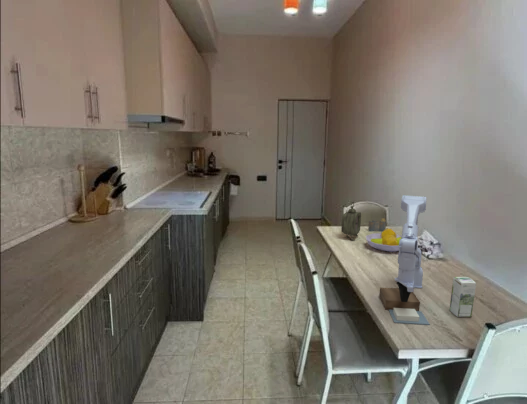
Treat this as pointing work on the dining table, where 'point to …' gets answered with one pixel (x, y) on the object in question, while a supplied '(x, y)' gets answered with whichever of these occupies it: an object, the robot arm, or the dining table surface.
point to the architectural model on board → (377, 225)
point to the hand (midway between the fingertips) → (403, 301)
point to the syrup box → (462, 296)
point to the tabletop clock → (351, 222)
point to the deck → (397, 299)
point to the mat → (421, 321)
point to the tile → (406, 314)
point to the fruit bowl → (384, 240)
